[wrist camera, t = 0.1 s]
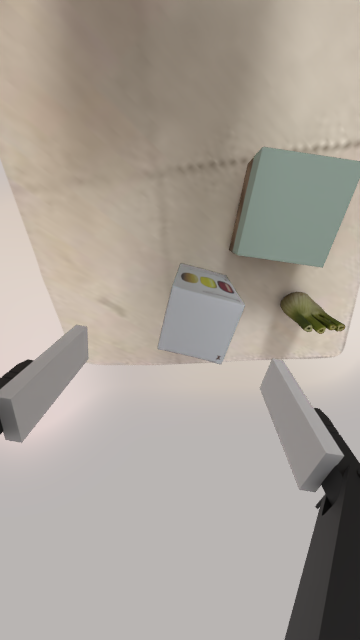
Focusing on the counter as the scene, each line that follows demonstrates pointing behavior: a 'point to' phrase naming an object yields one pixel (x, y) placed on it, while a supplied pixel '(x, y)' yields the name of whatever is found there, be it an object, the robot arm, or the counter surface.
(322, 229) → the tower top
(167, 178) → the counter surface
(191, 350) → the supplement box
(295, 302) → the fennel bulb
